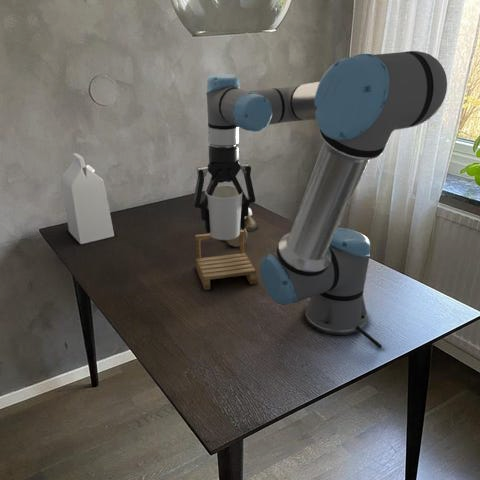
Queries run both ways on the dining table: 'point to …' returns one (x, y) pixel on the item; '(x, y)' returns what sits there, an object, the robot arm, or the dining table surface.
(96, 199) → the milk
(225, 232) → the candle holder
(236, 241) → the mug
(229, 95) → the robot arm
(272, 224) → the dining table surface
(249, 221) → the eagle figurine
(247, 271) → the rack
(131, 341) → the dining table surface
